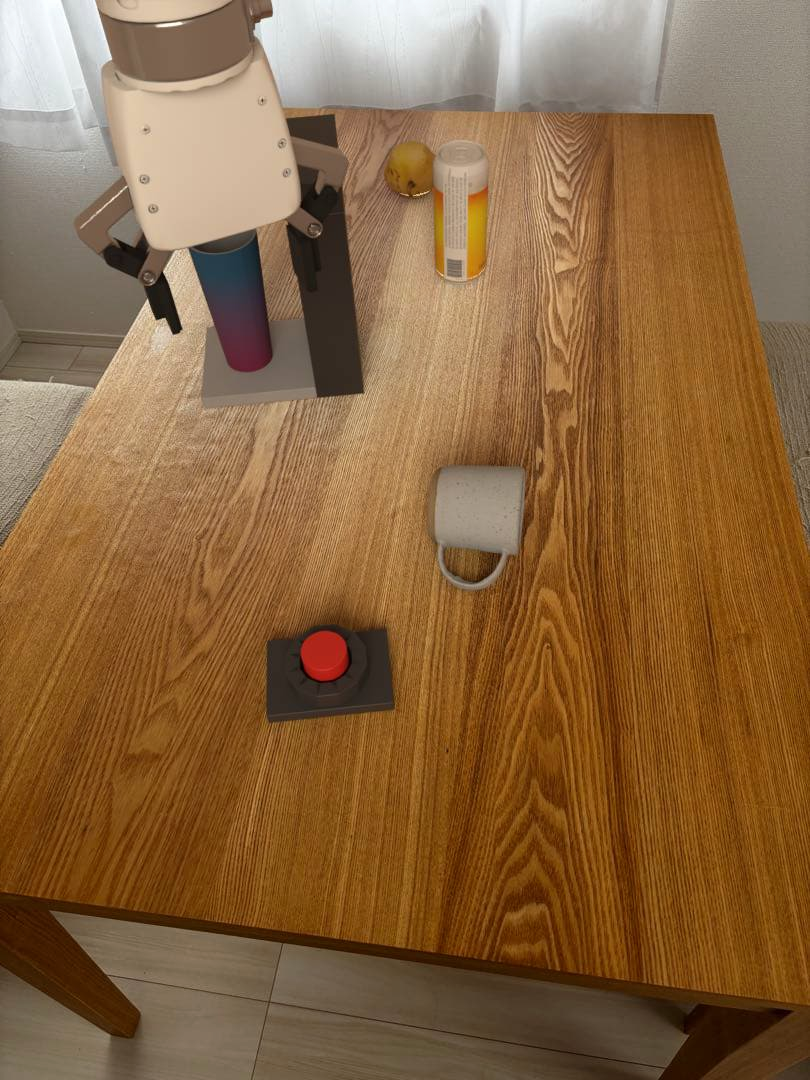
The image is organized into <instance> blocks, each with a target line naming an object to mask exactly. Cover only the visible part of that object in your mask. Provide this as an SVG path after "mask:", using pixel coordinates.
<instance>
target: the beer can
mask: <svg viewBox="0 0 810 1080" xmlns="http://www.w3.org/2000/svg"><path fill="white" fill-rule="evenodd" d="M489 171H490V159H489V157H488V155H487V153H486V149H485V147H484V146H483V145H482V144H481V143H479V142H477V141H475V140H474V141H473V140H468V139H456V140H450V141H447V142H445V143H443V144H441V145H440V146H439V147H438V148H437V150H436V154H435V158H434V160H433V189H432V190H433V232H434V233H433V234H434V270H435V272H436V273H437V275H439V276H440V278H441V279H442V280H443V281H444V282H446V283H448V284H451V285H457V286H459V285H460V286H461V285H463V286H464V285H469V284H471V283H474V282H476V281H477V280H478V279H480V277H481V275H483V274H484V272H485V270H486V267H487V266H486V267H485V264H487V241H488V240H487V234H488V205H489V204H488V203H489V178H490V177H489V174H490V173H489ZM435 267H436V269H437V270H438V271H439V272H440V273H441V274H443V275H445V276H448V277H451V278H457V279H463V278H470V277H473V276H475V275H478V274H479V273H480V272H481V271H482V270H483V269H484V267H485V270H484V271H483V272H482V273H481V274H480V275H479V276H477V277H475V278H472V279H468V280H451V279H448V278H445V277H443V276H441V275H440V274H439V273H438V272H437V271H436V269H435Z"/></svg>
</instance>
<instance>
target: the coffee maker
mask: <svg viewBox="0 0 810 1080" xmlns="http://www.w3.org/2000/svg"><path fill="white" fill-rule="evenodd" d="M285 118H286V121H287V125H288V129H289V133H290V136H292V137H296V138H300V139H304V140H307V141H311V142H315V143H319V144H323V145H327V146H330V147H334V148H338V149H339V140H338V132H337V124H336V115H335V113H329V114H319V115H309V116H308V115H307V116H296V117H285ZM297 169H298V174H299V180H300V187H301V200H303V198H304V197H305V195H306V194H307V192H308V191H309V189H310V188H311V186H312V185H313V183H314V182H315V181H316V180H317V179H318V173H319V170H316V169H312V168H308V167H304V166H300V165H297ZM343 186H344V185H343V184H342V185H341V188H339V190H338V197H339V198H338V201H337V203H336V204H335V206H334V207H333V209H332V210H331V212H330V213H329V215H328V216H327V218H326V219H325V220H324V222H323V223H322V226H323V230H322V233H321V235H319V236H318V237H317V239H318V246H319V253H320V261H321V271H319V272H316V279H317V286H318V291H316V292H313V293H310V292H307V291H306V290H305V288H304V287H303V285H302V283H301V282H300V280H299V279H298V277H297V276H296V278H297V286H298V290H299V296H300V297H299V298H300V303H301V308H302V316H303V318H302V317H300V318H290V319H289V318H288V319H280V320H270V321H269V320H268V322H269V330H270V337H271V345H272V353H273V356H272V360H271V361H270V363H269V364H268V365H267V366H265V367H264V368H262V369H260V370H257V371H254V372H239V371H236V370H234V369H232V368H231V367H230V366H229V365H228V363H227V360H226V358H225V355H224V352H223V349H222V346H221V343H220V340H219V337H218V334H217V331H216V328H215V326H208V327H207V326H206V333H205V344H204V358H203V369H202V371H203V372H202V382H201V383H202V384H201V397H200V399H201V402H202V406H203V409H204V410H209V409H219V408H228V407H229V408H230V407H239V406H250V405H259V404H269V403H279V402H291V401H301V400H310V399H321V398H328V397H330V398H331V397H340V396H341V397H342V396H348V395H361V394H365V389H364V378H363V369H362V368H363V367H362V357H361V347H360V337H359V336H360V335H359V328H358V317H357V307H356V300H355V299H356V297H355V290H354V281H353V280H354V279H353V271H352V260H351V254H350V253H351V251H350V244H349V243H350V242H349V234H348V233H349V232H348V224H347V216H346V215H347V213H346V207H345V196H344V188H343Z"/></svg>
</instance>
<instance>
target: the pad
mask: <svg viewBox="0 0 810 1080" xmlns="http://www.w3.org/2000/svg"><path fill="white" fill-rule="evenodd" d="M320 631H331V632H334V633H337V634H338V635H340V636H341V637H342V638H343V639H344V641H345V643H346V646H347V651H348V657H349V663H348V666H347V669H346V670H345V672H344V673H343V674H342V675H341V676H339V677H338V678H336V679H334V680H331V681H318V680H315V679H313V678H312V677H310V676H309V675H308V674H307V673H306V671H305V669H304V665H303V661H302V658H301V648H302V645H303V643H304V641H305V640H306V639H307V638H308V637H309V636H311V635H312V634H314V633H317V632H320ZM388 639H389V637H388V630H387V628H377V629H367V630H358V631H354V630H353V629H350V628H347V627H344V626H341V625H338V624H336V623H331V624H322V625H314V626H311V627H310V628H308V629H306V630H305V631H303V632H301V633H300V634H298V635H297V636H295V637H290V638H280V639H271V640H267V641H266V701H265V702H266V713H265V716H266V719H267V722H268V723H269V724H273V723H281V722H290V721H292V722H293V721H301V720H310V719H319V718H320V719H321V718H328V717H338V716H339V717H340V716H348V715H356V714H365V713H366V714H367V713H375V712H385V711H386V712H387V711H393V710H395V701H394V700H395V699H394V690H393V689H394V688H393V678H392V669H391V658H390V647H389V640H388Z"/></svg>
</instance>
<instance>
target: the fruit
mask: <svg viewBox="0 0 810 1080" xmlns="http://www.w3.org/2000/svg"><path fill="white" fill-rule="evenodd" d="M435 156H436V154H435V153H434V152H433V151H432V150H431V149H430V148H429V146H428V145H426V144H425V143H423V142H418V141H406V142H402V143H400V144H397V146H395V147H394V148H393V150H392V151H391V152H390V155H389V158H388V160H387V163H386V164H385V166H384V167H385V168H384V170H383V177H384V179H385V182H386V184H387V186H388V187H389V188H390V189H391V190H392V191H394V192H395V193H397V192H398V193H397V194H399V193H403V194H408V195H409V196H405V195H401V194H399V195H400V196H402V197H403V198H408V199H421V198H423V197H425V196H427V195H428V194H429V193H430V192H428V193H426V194H423V195H420V196H413V195H416V194H420V193H424V192H427V191H429V190H430V189H432V188H433V160H434V158H435ZM432 190H433V189H432Z"/></svg>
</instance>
